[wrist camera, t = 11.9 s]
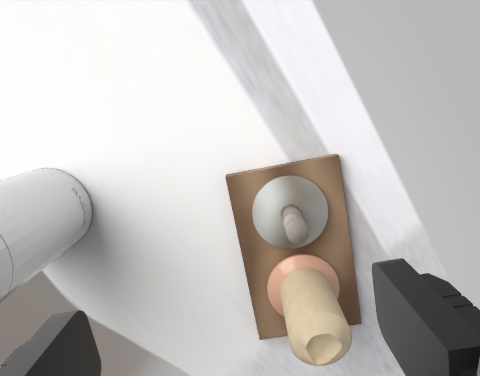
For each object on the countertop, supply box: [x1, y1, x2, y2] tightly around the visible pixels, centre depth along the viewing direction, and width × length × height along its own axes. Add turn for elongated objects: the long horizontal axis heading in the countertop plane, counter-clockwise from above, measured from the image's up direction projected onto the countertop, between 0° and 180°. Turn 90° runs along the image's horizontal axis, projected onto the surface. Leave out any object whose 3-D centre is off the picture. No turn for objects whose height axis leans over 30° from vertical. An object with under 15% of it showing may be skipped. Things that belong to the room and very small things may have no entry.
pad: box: [267, 253, 340, 316], centre depth 41 cm, size 8×8×1 cm
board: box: [226, 154, 362, 340], centre depth 37 cm, size 12×20×8 cm, turn 11°
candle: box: [280, 268, 352, 366], centre depth 35 cm, size 6×6×10 cm
